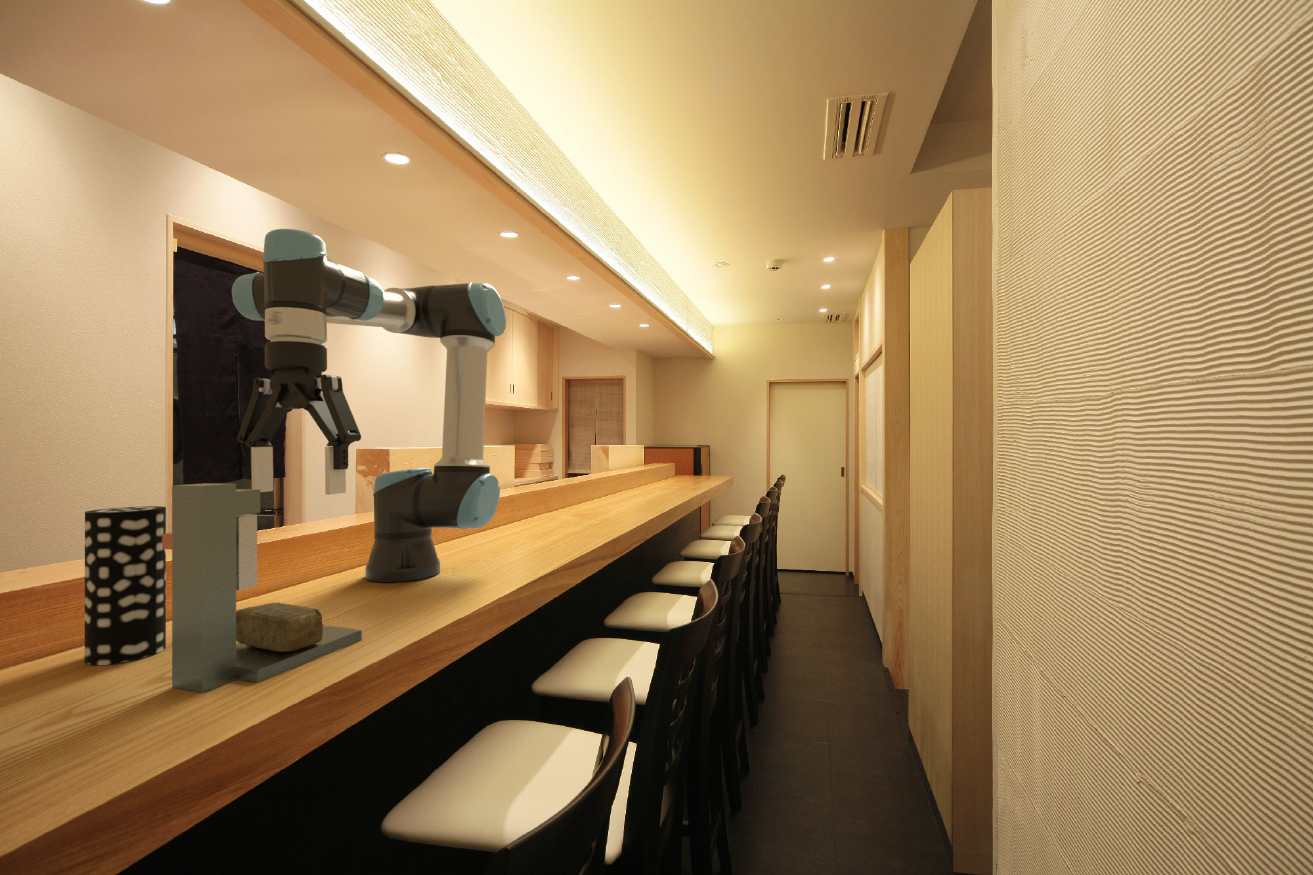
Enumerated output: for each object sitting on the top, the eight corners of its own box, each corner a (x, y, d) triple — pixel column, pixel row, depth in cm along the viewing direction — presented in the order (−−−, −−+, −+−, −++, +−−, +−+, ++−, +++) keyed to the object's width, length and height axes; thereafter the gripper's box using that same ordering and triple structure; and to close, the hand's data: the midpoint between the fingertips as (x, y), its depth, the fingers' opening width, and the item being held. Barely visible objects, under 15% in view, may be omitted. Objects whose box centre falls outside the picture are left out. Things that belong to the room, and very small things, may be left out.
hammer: (191, 578, 80) (191, 511, 80) (261, 584, 76) (261, 514, 76) (162, 584, 77) (162, 514, 77) (234, 591, 73) (234, 517, 73)
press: (299, 632, 89) (299, 475, 90) (361, 639, 86) (361, 476, 86) (151, 684, 70) (152, 485, 71) (223, 696, 67) (223, 486, 67)
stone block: (285, 657, 75) (285, 618, 75) (229, 646, 79) (229, 609, 79) (326, 643, 80) (326, 606, 80) (272, 633, 85) (272, 598, 85)
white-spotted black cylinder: (139, 663, 77) (139, 512, 77) (66, 667, 76) (67, 513, 76) (179, 642, 85) (179, 505, 86) (115, 645, 84) (115, 507, 84)
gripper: (206, 344, 83) (208, 493, 83) (344, 333, 75) (346, 497, 75) (256, 351, 90) (258, 488, 90) (387, 341, 83) (389, 491, 83)
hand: (298, 492), depth 83 cm, fingers open, 13 cm apart
